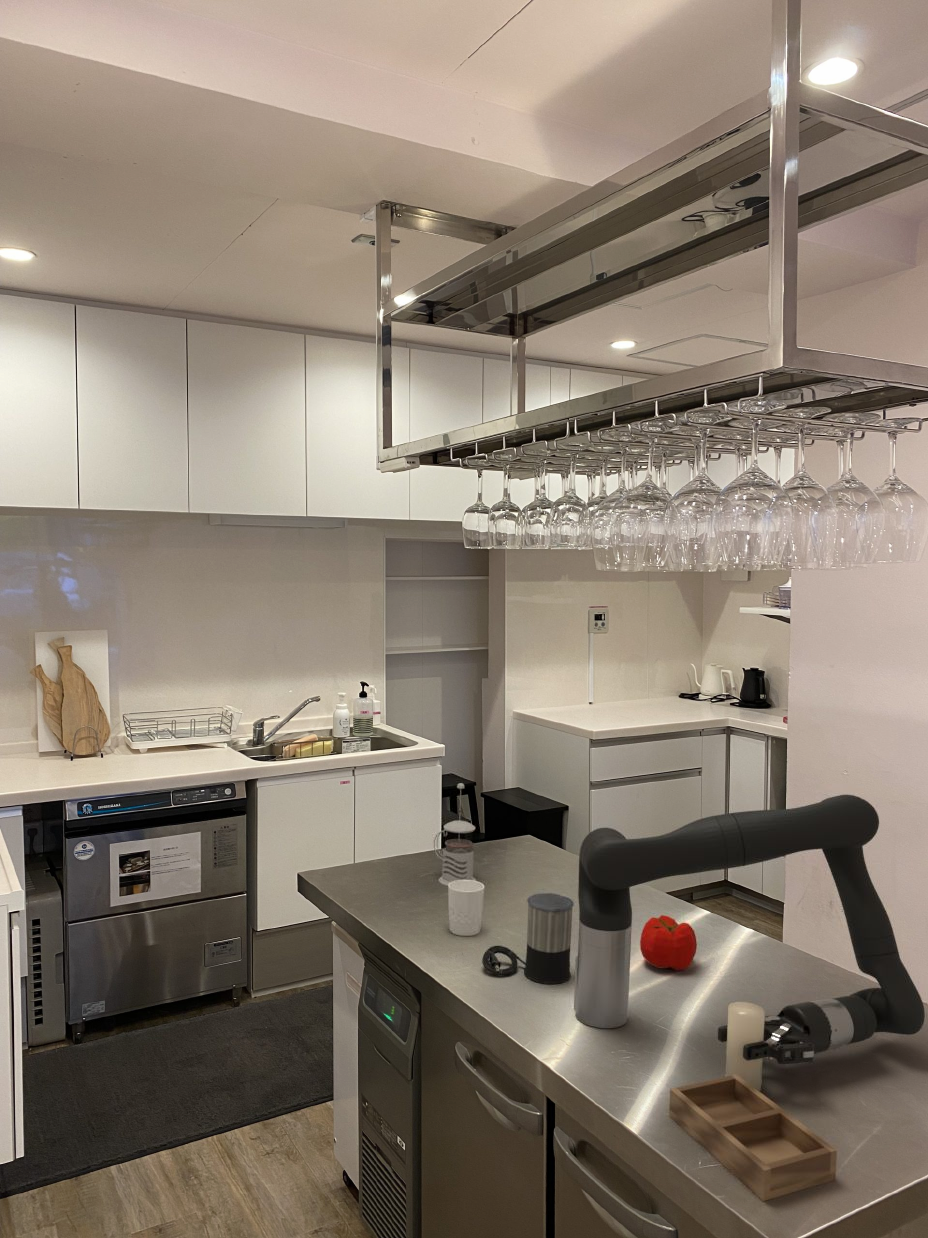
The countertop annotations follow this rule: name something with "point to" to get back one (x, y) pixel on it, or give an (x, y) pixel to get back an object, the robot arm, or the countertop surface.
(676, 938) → the tomato
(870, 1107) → the countertop surface
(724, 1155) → the wooden divided tray
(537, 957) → the milk frother
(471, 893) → the white cup
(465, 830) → the french press
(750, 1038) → the cream pillar candle
